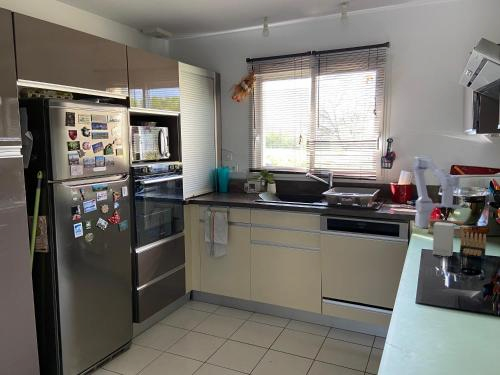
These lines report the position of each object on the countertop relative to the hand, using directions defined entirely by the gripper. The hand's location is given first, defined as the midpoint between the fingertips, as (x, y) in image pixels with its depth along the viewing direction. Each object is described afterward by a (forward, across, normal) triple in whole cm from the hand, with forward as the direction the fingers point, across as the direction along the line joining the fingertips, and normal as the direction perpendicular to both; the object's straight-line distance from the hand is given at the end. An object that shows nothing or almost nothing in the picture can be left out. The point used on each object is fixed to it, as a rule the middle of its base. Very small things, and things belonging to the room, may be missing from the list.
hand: (445, 220), depth 232 cm
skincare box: (+9, -2, -48) cm, 49 cm away
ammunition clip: (+9, +11, -44) cm, 47 cm away
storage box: (+8, 0, +2) cm, 8 cm away
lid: (+2, 0, +2) cm, 3 cm away
